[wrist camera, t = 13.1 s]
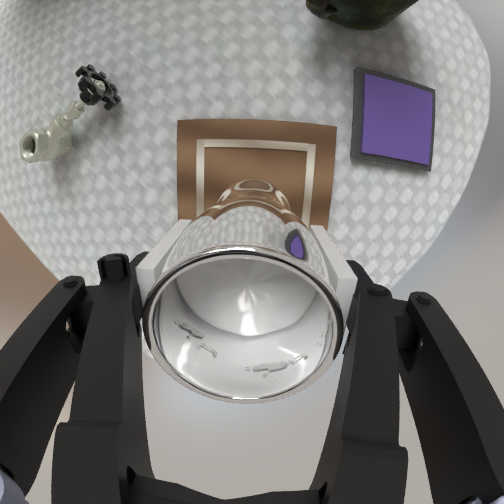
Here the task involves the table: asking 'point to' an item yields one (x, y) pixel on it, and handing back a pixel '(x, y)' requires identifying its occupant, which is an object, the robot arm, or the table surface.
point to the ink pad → (392, 120)
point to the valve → (68, 118)
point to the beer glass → (245, 301)
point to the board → (256, 163)
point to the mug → (359, 11)
